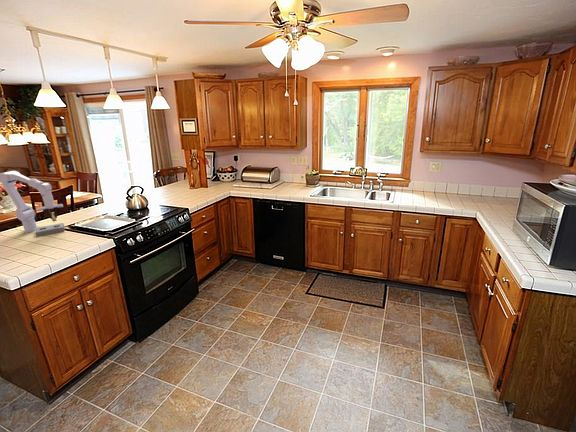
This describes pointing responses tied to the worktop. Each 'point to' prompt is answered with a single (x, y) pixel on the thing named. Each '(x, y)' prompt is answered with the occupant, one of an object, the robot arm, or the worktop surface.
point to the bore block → (49, 229)
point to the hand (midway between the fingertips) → (53, 218)
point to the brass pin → (53, 216)
